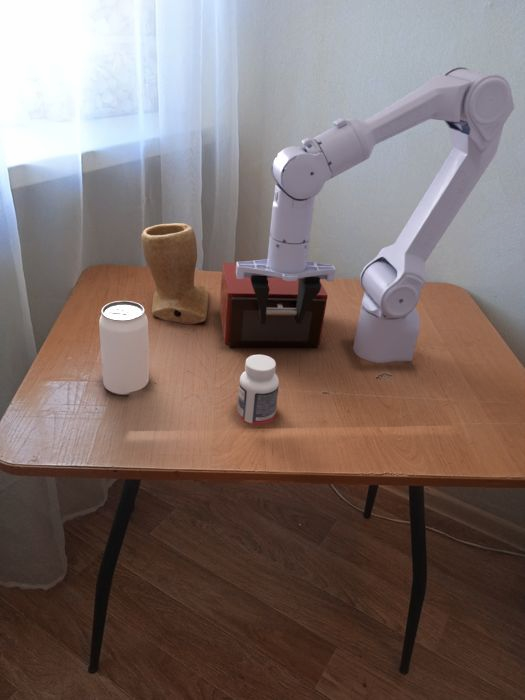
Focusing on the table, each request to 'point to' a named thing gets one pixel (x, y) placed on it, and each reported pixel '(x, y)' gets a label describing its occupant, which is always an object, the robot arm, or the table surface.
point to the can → (124, 347)
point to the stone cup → (174, 273)
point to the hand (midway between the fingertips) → (279, 320)
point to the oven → (245, 289)
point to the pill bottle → (258, 390)
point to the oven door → (274, 324)
